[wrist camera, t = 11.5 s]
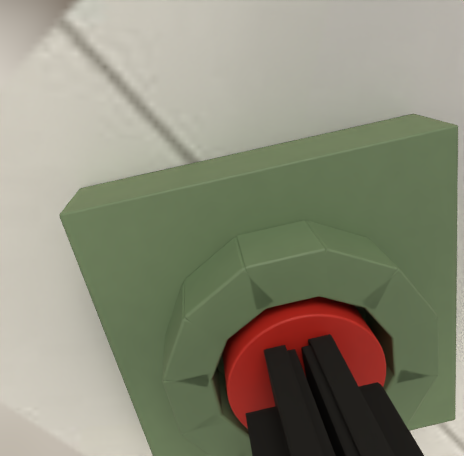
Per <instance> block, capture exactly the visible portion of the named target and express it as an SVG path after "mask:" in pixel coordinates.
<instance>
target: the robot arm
mask: <svg viewBox="0 0 464 456" xmlns="http://www.w3.org/2000/svg"><path fill="white" fill-rule="evenodd" d="M308 344H309V345H308V346H304V347H301V350H302V356H303V362H304V368H305V373H304V371H303V368H302V365H301V363H300V360H299V358H298V355H297V352H296V350H295V349H291V350H287V349H286V346H285V345H281V346H277V347H273V348H269V349H264V355H265V360H266V365H267V369H268V374H269V379H270V383H271V388H272V393H273V397H274V402H275V406H274V407H270V408H266V409H262V410H258V411H253V412H249V413H246V421H247V427H248V433H249V439H250V444H251V450H252V456H424V455H423V453H422V451H421V450H420V448H419V446H418V445H417V443H416V441H415V440H414V438H413V436H412V435H411V433H410V431H409V430H408V428H407V426H406V425H405V423H404V421H403V420H402V418H401V416H400V415H399V413H398V411H397V410H396V408H395V406H394V405H393V403H392V401H391V400H390V398H389V396H388V395H387V393H386V391H385V390H384V388H383V387H382V385H381V384H380V383H378V382H376V383H372V384H367V385H363V386H359V387H358V385H357V383H356V381H355V379H354V377H353V375H352V373H351V371H350V369H349V368H348V366H347V364H346V362H345V360H344V358H343V356H342V354H341V352H340V350H339V349H338V347H337V345H336V343H335V341H334V339H333V337H332V336H331V335H330V334H328V335H324V336H320V337H316V338H311V339H308ZM305 374H306V376H305Z"/></svg>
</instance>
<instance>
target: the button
mask: <svg viewBox="0 0 464 456" xmlns="http://www.w3.org/2000/svg"><path fill="white" fill-rule="evenodd" d="M328 334H330V335H331V336H332V337H333V339H334V341H335V343H336V345H337V347H338V349H339V350H340V352H341V354H342V356H343V358H344V360H345V362H346V364H347V366H348V368H349V369H350V371H351V373H352V375H353V377H354V379H355V381H356V383H357V385H358V387H359V386H363V385H367V384H372V383H376V382H378V383H380V384H381V385H382V387H383V386H384V383H385V377H386V360H385V355H384V352H383V349H382V347H381V345H380V343H379V341H378V340H377V338H376V337H375V335H374V334H373V332H372V331H371V329H370V328H369V326H368V325H367V323H366V322H365V320H364V319H363V317H362V316H361V314H360V313H359V311H358V310H357V308H356V307H355V305H351V304H347V303H343V302H339V301H335V300H331V299H327V298H323V297H314V298H310V299H306V300H301V301H297V302H293V303H288V304H284V305H280V306H275V307H271V308H267V309H265V310H264V311H263V312H262V313H260V314H259V315H258V316H256V317H255V318H254V319H253V320H251V321H250V322H249V323H248V324H246V325H245V326H244V327H243V328H241V329H240V330H239V331H238V332H236V333H235V334H234V335H233V336H231V337H230V338H229V339H228V340H227V343H226V345H225V348H224V350H223V353H222V356H223V364H224V372H225V380H226V389H227V395H228V401H229V404H230V406H231V409H232V411H233V412H234V414H235V416H236V417H237V418H238V420H239V421H240V422H241V423H242V424H243V425H244V426H245V427H246V428H247V429H248V427H247V421H246V413H249V412H253V411H258V410H262V409H266V408H270V407H274V406H275V402H274V397H273V393H272V388H271V383H270V379H269V374H268V369H267V365H266V360H265V355H264V349H269V348H273V347H277V346H281V345H285V346H286V349H287V350H291V349H295V350H296V352H297V355H298V358H299V360H300V363H301V365H302V368H303V371H304V373H305V368H304V362H303V356H302V350H301V347H304V346H308V345H309V344H308V339H311V338H316V337H320V336H324V335H328ZM305 376H306V374H305Z"/></svg>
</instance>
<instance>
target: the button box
mask: <svg viewBox="0 0 464 456" xmlns="http://www.w3.org/2000/svg"><path fill="white" fill-rule="evenodd" d="M457 168H458V126H457V125H454V124H450V123H446V122H443V121H439V120H435V119H431V118H427V117H424V116H420V115H416V114H411V115H407V116H402V117H398V118H393V119H389V120H384V121H380V122H375V123H371V124H366V125H362V126H357V127H353V128H348V129H344V130H340V131H335V132H331V133H326V134H322V135H317V136H313V137H308V138H304V139H299V140H295V141H290V142H286V143H281V144H277V145H273V146H268V147H264V148H259V149H255V150H250V151H246V152H241V153H237V154H232V155H228V156H223V157H219V158H214V159H210V160H206V161H201V162H197V163H192V164H188V165H183V166H179V167H174V168H170V169H165V170H161V171H156V172H152V173H147V174H143V175H139V176H134V177H130V178H125V179H121V180H116V181H112V182H107V183H103V184H98V185H94V186H89V187H85V188H81V189H79V190H78V192H77V193H76V194H75V196H74V197H73V198H72V199H71V201H70V202H69V203H68V204H67V206H66V207H65V208H64V210H63V211H62V212H61V213H60V219H61V221H62V224H63V226H64V229H65V231H66V234H67V237H68V239H69V242H70V244H71V247H72V249H73V252H74V255H75V257H76V260H77V262H78V265H79V267H80V270H81V272H82V275H83V278H84V280H85V283H86V285H87V288H88V290H89V293H90V295H91V298H92V301H93V303H94V306H95V308H96V311H97V313H98V316H99V319H100V321H101V324H102V326H103V329H104V331H105V334H106V336H107V339H108V342H109V344H110V347H111V349H112V352H113V354H114V357H115V360H116V362H117V365H118V367H119V370H120V372H121V375H122V377H123V380H124V383H125V385H126V388H127V390H128V393H129V395H130V398H131V401H132V403H133V406H134V408H135V411H136V413H137V416H138V418H139V421H140V424H141V426H142V429H143V431H144V434H145V436H146V439H147V442H148V444H149V447H150V449H151V452H152V454H153V456H252V450H251V444H250V439H249V433H248V429H247V428H246V427H245V426H244V425H243V424H242V423H241V422H240V421H239V420H238V418H237V417H236V416H235V414H234V412H233V411H232V409H231V406H230V404H229V401H228V395H227V389H226V380H225V372H224V364H223V356H222V353H223V350H224V348H225V345H226V343H227V340H228V339H229V338H230V337H231V336H233V335H234V334H235V333H236V332H238V331H239V330H240V329H241V328H243V327H244V326H245V325H246V324H248V323H249V322H250V321H251V320H253V319H254V318H255V317H256V316H258V315H259V314H260V313H262V312H263V311H264V310H265V309H267V308H271V307H275V306H280V305H284V304H288V303H293V302H297V301H301V300H306V299H310V298H314V297H323V298H327V299H331V300H335V301H339V302H343V303H347V304H351V305H355V307H356V308H357V310H358V311H359V313H360V314H361V316H362V317H363V319H364V320H365V322H366V323H367V325H368V326H369V328H370V329H371V331H372V332H373V334H374V335H375V337H376V338H377V340H378V341H379V343H380V345H381V347H382V349H383V352H384V355H385V360H386V377H385V383H384V386H383V388H384V390H385V391H386V393H387V395H388V396H389V398H390V400H391V401H392V403H393V405H394V406H395V408H396V410H397V411H398V413H399V415H400V416H401V418H402V420H403V421H404V423H405V425H406V426H407V428H408V430H414V429H418V428H422V427H426V426H431V425H435V424H439V423H443V422H448V421H452V420H455V387H456V277H457Z"/></svg>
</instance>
